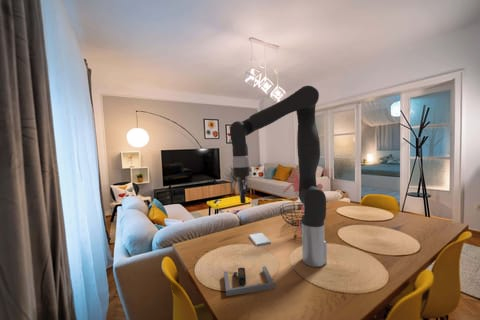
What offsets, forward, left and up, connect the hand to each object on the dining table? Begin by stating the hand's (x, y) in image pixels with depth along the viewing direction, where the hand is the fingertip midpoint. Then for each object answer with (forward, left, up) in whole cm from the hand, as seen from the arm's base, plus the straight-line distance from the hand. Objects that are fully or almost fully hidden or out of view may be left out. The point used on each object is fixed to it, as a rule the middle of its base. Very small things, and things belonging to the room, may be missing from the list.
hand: (243, 202), depth 94 cm
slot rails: (+2, +18, -26) cm, 31 cm away
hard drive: (-11, -15, -27) cm, 32 cm away
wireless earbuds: (+5, +16, -26) cm, 31 cm away
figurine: (-38, -19, -26) cm, 50 cm away
